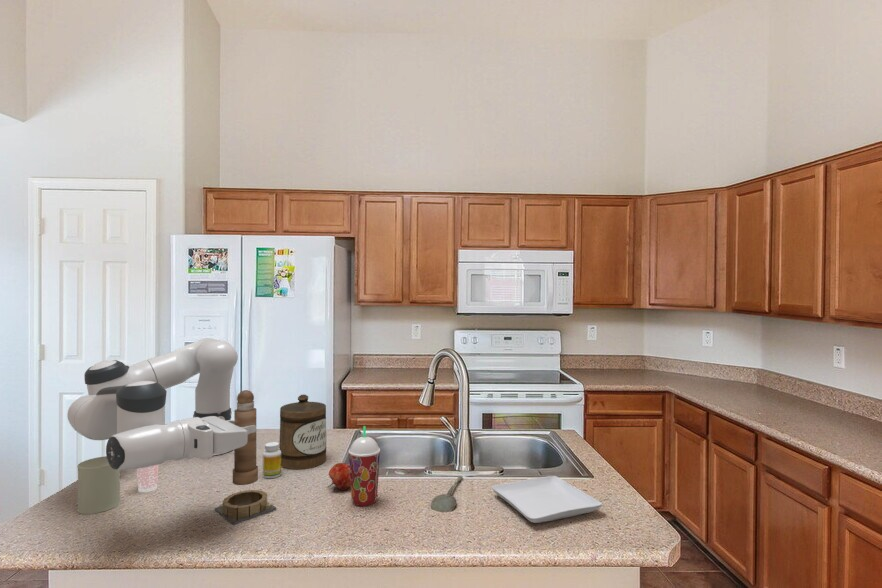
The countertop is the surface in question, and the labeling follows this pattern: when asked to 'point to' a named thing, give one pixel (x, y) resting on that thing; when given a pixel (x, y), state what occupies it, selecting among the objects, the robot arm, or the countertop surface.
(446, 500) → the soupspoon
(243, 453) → the pepper mill
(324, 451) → the wooden container
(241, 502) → the collar socket
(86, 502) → the can
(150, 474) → the beverage cup
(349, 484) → the pomegranate
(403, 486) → the countertop surface
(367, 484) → the smoothie
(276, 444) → the supplement bottle
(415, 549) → the countertop surface
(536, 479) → the salad plate
